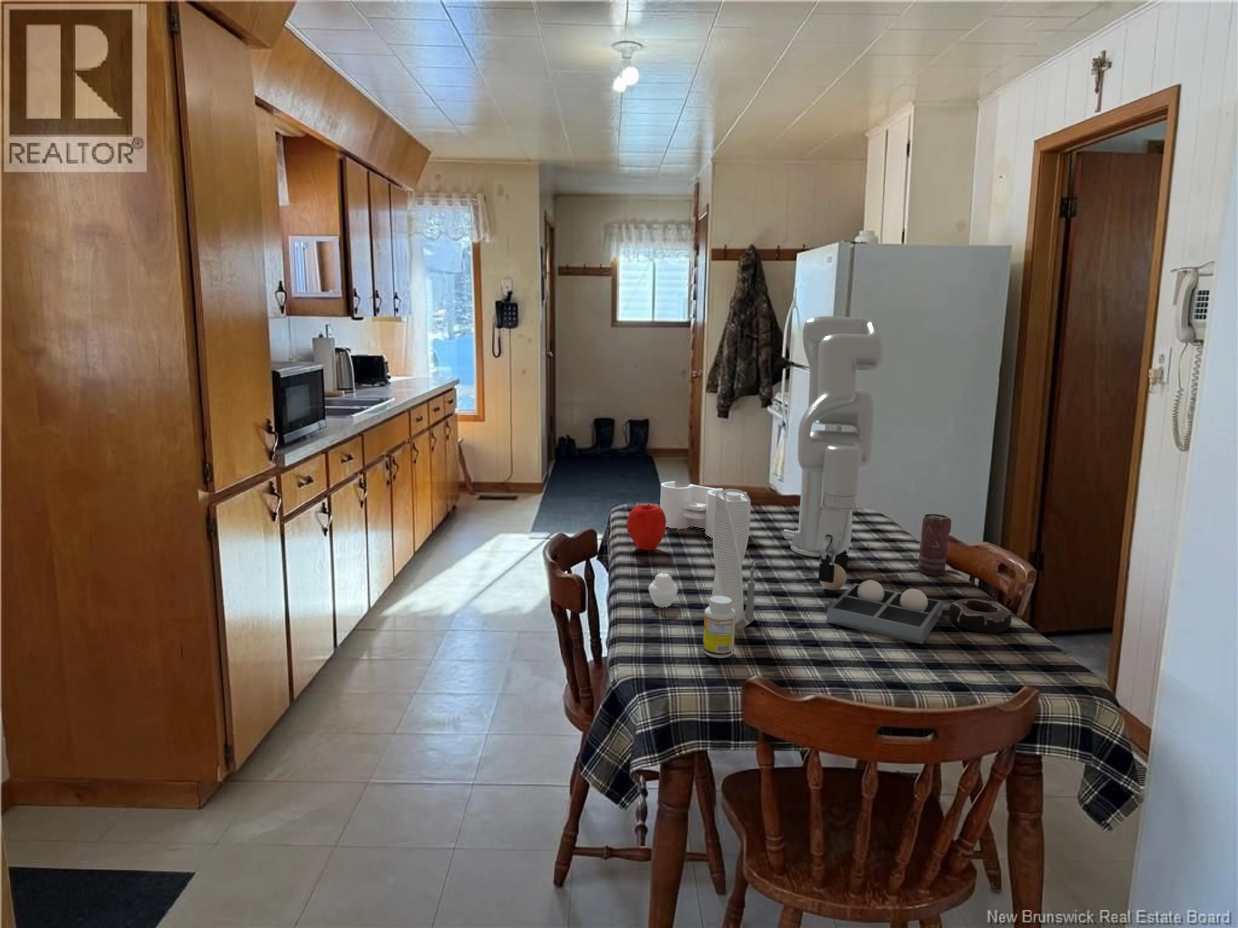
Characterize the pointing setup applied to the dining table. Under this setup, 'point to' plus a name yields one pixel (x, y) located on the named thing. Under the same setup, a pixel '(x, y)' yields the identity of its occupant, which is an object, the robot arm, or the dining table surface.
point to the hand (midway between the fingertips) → (832, 576)
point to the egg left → (871, 591)
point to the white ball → (914, 600)
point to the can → (934, 544)
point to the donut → (979, 615)
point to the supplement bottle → (719, 627)
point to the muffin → (663, 590)
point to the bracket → (689, 506)
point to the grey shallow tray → (884, 615)
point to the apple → (646, 526)
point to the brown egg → (836, 579)
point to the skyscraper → (732, 552)
